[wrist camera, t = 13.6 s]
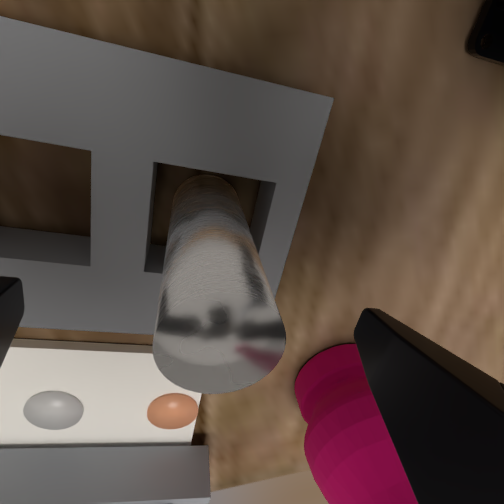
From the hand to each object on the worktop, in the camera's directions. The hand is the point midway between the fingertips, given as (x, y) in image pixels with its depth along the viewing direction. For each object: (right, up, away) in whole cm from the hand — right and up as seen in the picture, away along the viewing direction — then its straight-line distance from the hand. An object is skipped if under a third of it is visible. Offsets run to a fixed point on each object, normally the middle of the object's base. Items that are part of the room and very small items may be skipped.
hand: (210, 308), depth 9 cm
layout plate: (-10, -7, +11) cm, 16 cm away
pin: (-1, +4, +6) cm, 7 cm away
